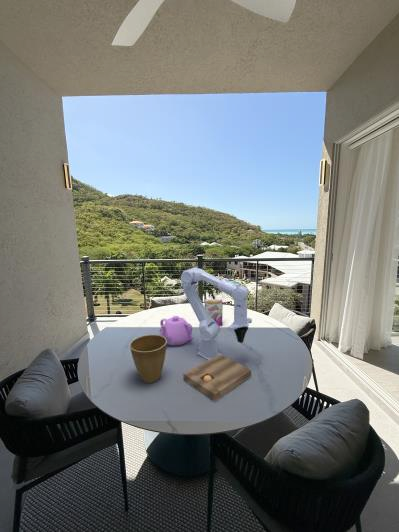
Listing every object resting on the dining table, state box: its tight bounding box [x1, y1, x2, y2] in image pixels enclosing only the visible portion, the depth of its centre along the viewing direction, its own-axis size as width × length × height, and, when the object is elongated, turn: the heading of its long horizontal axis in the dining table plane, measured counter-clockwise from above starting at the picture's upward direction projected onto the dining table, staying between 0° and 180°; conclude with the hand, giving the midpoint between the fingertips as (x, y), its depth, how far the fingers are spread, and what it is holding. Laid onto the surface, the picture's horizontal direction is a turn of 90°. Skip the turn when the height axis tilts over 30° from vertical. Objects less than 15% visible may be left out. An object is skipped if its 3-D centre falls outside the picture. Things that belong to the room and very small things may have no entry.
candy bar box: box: [204, 298, 224, 327], centre depth 160 cm, size 11×5×16 cm, turn 92°
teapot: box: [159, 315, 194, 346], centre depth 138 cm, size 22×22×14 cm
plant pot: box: [129, 334, 168, 384], centre depth 106 cm, size 15×15×16 cm
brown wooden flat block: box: [182, 353, 252, 402], centre depth 106 cm, size 18×22×3 cm
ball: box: [203, 375, 212, 383], centre depth 102 cm, size 4×4×4 cm
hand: (240, 341), depth 116 cm, fingers closed
